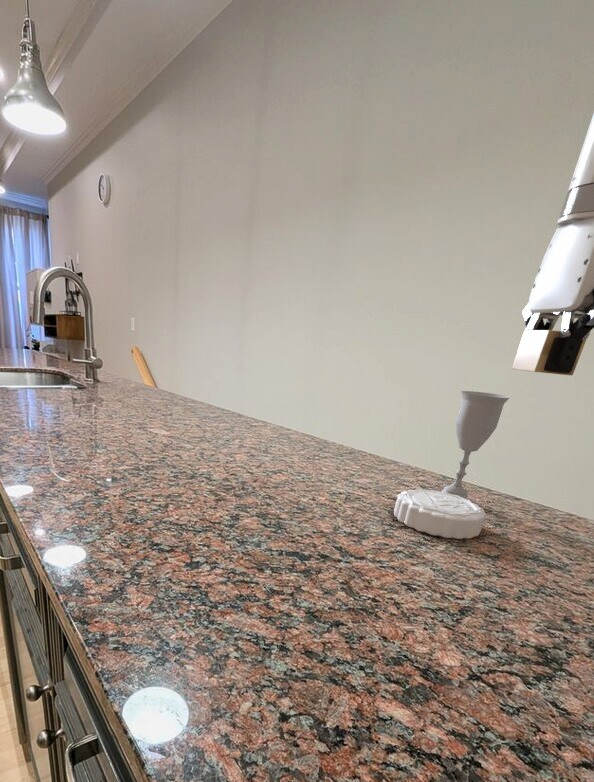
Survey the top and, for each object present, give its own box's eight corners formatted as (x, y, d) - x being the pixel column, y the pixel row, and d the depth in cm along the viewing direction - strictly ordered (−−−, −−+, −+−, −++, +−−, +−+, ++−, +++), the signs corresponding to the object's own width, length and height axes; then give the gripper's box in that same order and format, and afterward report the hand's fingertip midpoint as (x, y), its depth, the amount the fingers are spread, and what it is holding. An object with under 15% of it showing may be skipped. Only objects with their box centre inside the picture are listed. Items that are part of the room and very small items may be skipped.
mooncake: (493, 545, 61) (501, 521, 59) (401, 532, 63) (407, 508, 61) (464, 513, 72) (471, 492, 70) (387, 502, 73) (392, 482, 72)
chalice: (442, 490, 82) (472, 390, 76) (481, 502, 78) (516, 397, 71) (423, 497, 78) (453, 391, 71) (463, 510, 73) (499, 398, 66)
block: (546, 372, 62) (560, 333, 60) (572, 375, 57) (588, 334, 56) (511, 368, 62) (524, 330, 60) (534, 371, 57) (549, 330, 56)
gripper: (701, 193, 45) (621, 379, 52) (577, 228, 61) (529, 367, 68) (628, 185, 45) (558, 373, 52) (523, 222, 61) (480, 363, 68)
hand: (542, 368), depth 60 cm, fingers closed on block, 5 cm apart
